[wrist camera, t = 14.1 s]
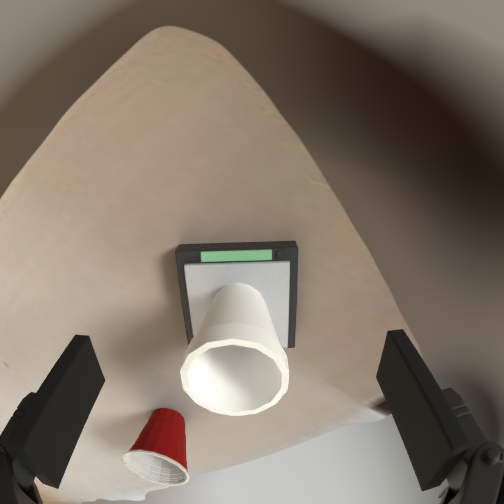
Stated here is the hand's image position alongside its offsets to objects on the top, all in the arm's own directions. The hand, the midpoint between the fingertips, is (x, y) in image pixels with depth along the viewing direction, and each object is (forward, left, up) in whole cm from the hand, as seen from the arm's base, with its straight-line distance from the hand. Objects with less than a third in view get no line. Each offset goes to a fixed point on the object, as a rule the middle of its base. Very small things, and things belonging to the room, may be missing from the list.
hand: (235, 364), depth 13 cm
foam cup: (+11, -1, -23) cm, 26 cm away
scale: (+11, -1, -26) cm, 28 cm away
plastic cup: (+36, -15, -26) cm, 47 cm away
